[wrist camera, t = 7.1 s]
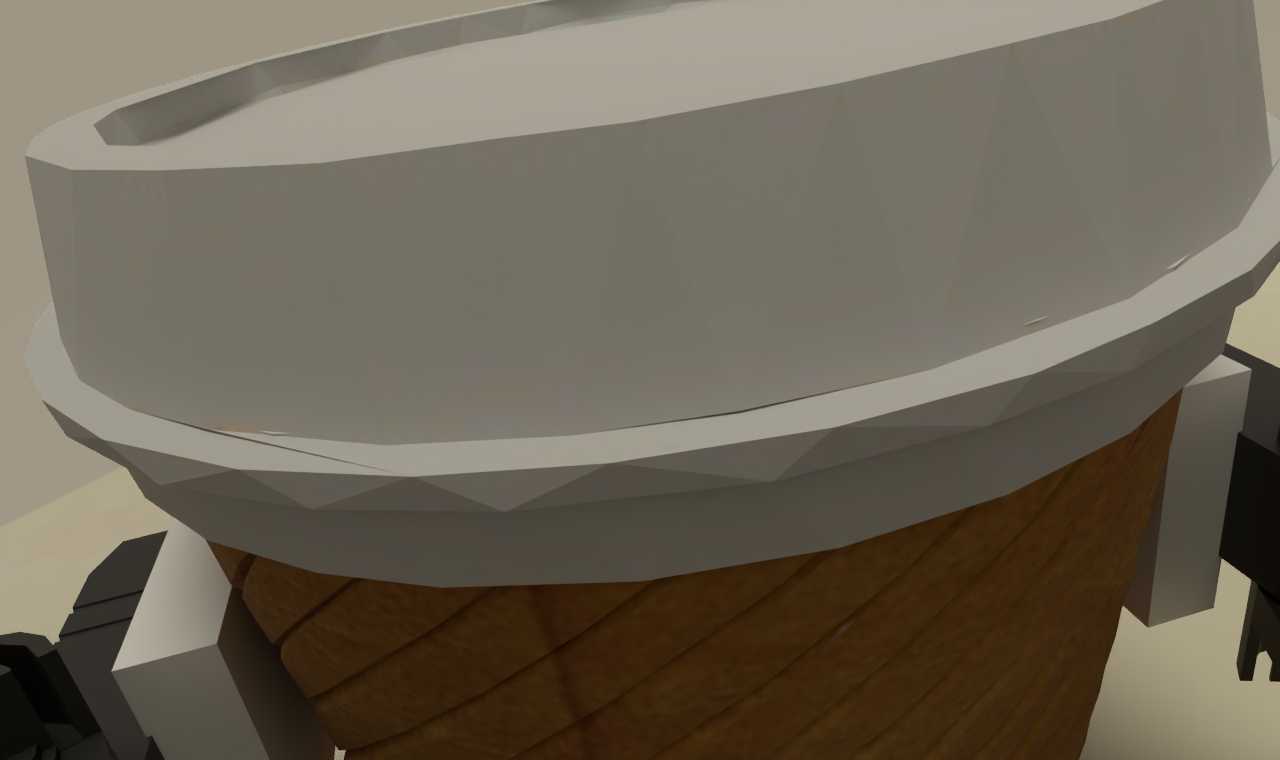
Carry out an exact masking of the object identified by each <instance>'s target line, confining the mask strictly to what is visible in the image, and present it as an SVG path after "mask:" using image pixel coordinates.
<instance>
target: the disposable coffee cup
mask: <svg viewBox="0 0 1280 760" xmlns="http://www.w3.org/2000/svg"><path fill="white" fill-rule="evenodd" d="M25 158H26V163H27V168H28V173H29V178H30V183H31V189H32V194H33V199H34V204H35V209H36V214H37V220H38V225H39V230H40V235H41V240H42V245H43V250H44V256H45V261H46V266H47V271H48V276H49V281H50V287H51V292H52V297H53V301H52V303H51V304H50V305H49V306H48V308H47V309H46V310H45V311H44V313H43V314H42V315H41V317H40V318H39V319H38V321H37V322H36V325H35V327H34V330H33V333H32V336H31V339H30V342H29V345H28V348H27V351H26V354H25V357H24V362H25V364H26V366H27V369H28V371H29V373H30V375H31V377H32V380H33V382H34V384H35V386H36V388H37V391H38V393H39V395H40V397H41V399H42V401H43V402H44V404H45V405H46V407H47V408H48V410H49V411H50V412H51V414H52V415H53V417H54V418H55V420H56V421H57V423H58V424H59V425H60V427H61V428H62V430H63V431H64V433H65V434H66V435H67V436H68V437H70V438H71V439H73V440H75V441H77V442H79V443H81V444H83V445H85V446H86V447H88V448H90V449H92V450H94V451H96V452H98V453H100V454H101V455H103V456H105V457H107V458H109V459H111V460H113V461H115V462H116V463H118V464H120V465H122V466H124V467H126V468H127V469H128V471H129V472H130V474H131V475H132V477H133V479H134V480H135V482H136V483H137V485H138V487H139V488H140V490H141V491H142V493H143V495H144V496H145V498H146V499H148V500H149V501H151V502H152V503H154V504H155V505H157V506H158V507H160V508H161V509H162V510H164V511H165V512H167V513H168V514H170V515H171V516H173V517H174V518H176V519H177V520H178V521H180V522H181V523H183V524H184V525H186V526H187V527H189V528H190V529H192V530H193V531H194V532H196V533H197V534H199V535H200V536H202V537H203V538H205V540H206V542H207V543H208V545H209V547H210V549H211V550H212V552H213V554H214V556H215V558H216V559H217V561H218V563H219V565H220V566H221V568H222V570H223V572H224V573H225V575H226V577H227V579H228V581H229V582H230V584H231V585H233V586H234V587H236V588H238V589H240V590H242V591H243V594H242V597H243V599H244V601H245V603H246V605H247V607H248V609H249V610H250V612H251V613H252V615H253V616H254V618H255V619H256V621H257V622H258V624H259V625H260V627H261V628H262V630H263V631H264V633H265V634H266V636H267V638H268V639H269V641H270V642H271V644H272V645H275V646H278V647H281V660H282V663H283V664H284V666H285V667H286V669H287V670H288V672H289V673H290V675H291V676H292V678H293V679H294V681H295V682H296V684H297V685H298V687H299V688H300V690H301V691H302V693H303V694H304V696H305V698H306V699H312V698H316V704H315V711H314V713H315V715H316V716H317V718H318V719H319V721H320V722H321V724H322V725H323V727H324V728H325V730H326V731H327V733H328V734H329V736H330V737H331V739H332V740H333V742H334V744H335V745H336V747H337V748H338V750H346V752H345V756H344V760H1079V758H1080V755H1081V752H1082V749H1083V746H1084V744H1085V740H1086V736H1087V731H1088V727H1089V722H1090V718H1091V715H1092V712H1093V709H1094V706H1095V703H1096V701H1097V698H1098V695H1099V692H1100V688H1101V683H1102V679H1103V674H1104V670H1105V666H1106V663H1107V660H1108V657H1109V654H1110V651H1111V648H1112V645H1113V643H1114V640H1115V637H1116V632H1117V628H1118V623H1119V618H1120V614H1121V609H1122V606H1123V603H1124V600H1125V597H1126V595H1127V592H1128V589H1129V586H1130V583H1131V580H1132V578H1133V573H1134V569H1135V564H1136V559H1137V555H1138V550H1139V546H1140V543H1141V540H1142V537H1143V535H1144V532H1145V529H1146V526H1147V523H1148V520H1149V517H1150V515H1151V512H1152V507H1153V502H1154V498H1155V493H1156V488H1157V484H1158V479H1159V476H1160V473H1161V471H1162V468H1163V465H1164V462H1165V459H1166V456H1167V453H1168V451H1169V448H1170V445H1171V442H1172V438H1173V434H1174V429H1175V424H1176V420H1177V415H1178V410H1179V406H1180V401H1181V396H1182V392H1183V388H1184V386H1185V385H1186V384H1187V383H1188V382H1190V381H1191V380H1192V379H1193V378H1194V377H1195V376H1196V375H1198V374H1199V373H1200V372H1201V371H1202V370H1203V369H1205V368H1206V367H1207V366H1208V365H1209V364H1210V363H1211V362H1213V361H1214V360H1215V359H1216V358H1217V357H1218V356H1219V355H1221V354H1222V353H1223V351H1224V348H1225V344H1226V340H1227V337H1228V333H1229V330H1230V326H1231V322H1232V319H1233V315H1234V312H1235V308H1236V307H1237V306H1239V305H1240V304H1242V303H1243V302H1245V301H1247V300H1248V299H1250V298H1252V297H1253V296H1254V295H1255V294H1256V293H1257V291H1258V290H1259V288H1260V287H1261V286H1262V284H1263V283H1264V282H1265V280H1266V279H1267V278H1268V276H1269V275H1270V273H1271V272H1272V271H1273V269H1274V268H1275V267H1276V265H1277V264H1278V263H1279V261H1280V121H1279V120H1278V119H1276V118H1275V117H1274V116H1272V115H1271V114H1270V113H1268V112H1267V111H1266V108H1265V99H1264V90H1263V82H1262V73H1261V65H1260V56H1259V47H1258V38H1257V31H1256V21H1255V12H1254V4H1253V0H538V1H532V2H526V3H521V4H515V5H510V6H504V7H499V8H494V9H488V10H482V11H477V12H471V13H466V14H461V15H455V16H450V17H445V18H440V19H435V20H430V21H426V22H421V23H416V24H411V25H406V26H401V27H396V28H391V29H386V30H381V31H376V32H372V33H367V34H363V35H358V36H354V37H349V38H345V39H341V40H336V41H332V42H327V43H323V44H319V45H314V46H310V47H306V48H302V49H298V50H294V51H290V52H286V53H282V54H278V55H274V56H270V57H266V58H262V59H258V60H254V61H250V62H246V63H242V64H238V65H234V66H230V67H226V68H221V69H218V70H214V71H210V72H206V73H202V74H199V75H195V76H192V77H188V78H185V79H182V80H178V81H175V82H171V83H168V84H165V85H161V86H158V87H155V88H151V89H148V90H144V91H141V92H138V93H135V94H132V95H129V96H126V97H123V98H120V99H117V100H114V101H111V102H109V103H105V104H102V105H99V106H97V107H94V108H91V109H88V110H86V111H83V112H81V113H79V114H76V115H74V116H72V117H69V118H67V119H64V120H62V121H60V122H58V123H55V124H53V125H52V126H50V127H49V128H48V129H46V130H45V131H43V132H42V133H40V134H39V135H37V136H36V137H35V138H33V140H32V142H31V144H30V146H29V148H28V150H27V152H26V154H25Z"/></svg>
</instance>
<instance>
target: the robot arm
mask: <svg viewBox="0 0 1280 760" xmlns="http://www.w3.org/2000/svg"><path fill="white" fill-rule="evenodd" d="M1221 558H1222V559H1224V560H1225V561H1227V562H1228V563H1229V564H1231V565H1232V566H1233V567H1235V568H1236V569H1237V570H1239V571H1240V572H1242V573H1243V574H1244V575H1246V576H1247V577H1248V578H1250V579H1251V586H1250V591H1249V597H1248V602H1247V608H1246V614H1245V619H1244V625H1243V630H1242V636H1241V641H1240V647H1239V652H1238V658H1237V663H1236V664H1237V669H1238V674H1239V679H1240V681H1252V679H1253V674H1254V669H1255V664H1256V659H1257V655H1258V654H1259V653H1260V652H1264V651H1267V653H1268V655H1269V657H1270V658H1271V660H1272V667H1271V672H1270V676H1269V679H1270V681H1276V682H1280V368H1278V367H1276V366H1274V365H1272V364H1270V363H1267V362H1265V361H1263V360H1261V359H1259V358H1257V357H1255V356H1252V355H1250V354H1248V353H1246V352H1244V351H1242V350H1240V349H1237V348H1235V347H1233V346H1231V345H1229V344H1227V343H1226V344H1225V348H1224V351H1223V353H1222V354H1221V355H1219V356H1218V357H1217V358H1216V359H1215V360H1214V361H1213V362H1211V363H1210V364H1209V365H1208V366H1207V367H1206V368H1205V369H1203V370H1202V371H1201V372H1200V373H1199V374H1198V375H1196V376H1195V377H1194V378H1193V379H1192V380H1191V381H1190V382H1188V383H1187V384H1186V385H1185V386H1184V388H1183V392H1182V396H1181V401H1180V406H1179V410H1178V415H1177V420H1176V424H1175V429H1174V434H1173V438H1172V442H1171V445H1170V448H1169V451H1168V453H1167V456H1166V459H1165V462H1164V465H1163V468H1162V471H1161V473H1160V476H1159V479H1158V484H1157V488H1156V493H1155V498H1154V502H1153V507H1152V512H1151V515H1150V517H1149V520H1148V523H1147V526H1146V529H1145V532H1144V535H1143V537H1142V540H1141V543H1140V546H1139V550H1138V555H1137V559H1136V564H1135V569H1134V573H1133V578H1132V580H1131V583H1130V586H1129V589H1128V592H1127V595H1126V597H1125V600H1124V603H1123V606H1124V607H1125V608H1127V609H1128V610H1129V611H1130V612H1131V613H1132V614H1133V615H1134V616H1135V617H1137V618H1138V619H1139V620H1140V621H1141V622H1142V623H1143V624H1144V625H1145V626H1147V627H1152V626H1155V625H1158V624H1162V623H1165V622H1168V621H1171V620H1175V619H1178V618H1181V617H1185V616H1188V615H1191V614H1194V613H1198V612H1201V611H1204V610H1208V609H1211V608H1214V602H1215V596H1216V590H1217V583H1218V577H1219V571H1220V565H1221ZM242 594H243V591H242V590H240V589H238V588H236V587H234V586H233V585H231V584H230V582H229V581H228V579H227V577H226V575H225V573H224V572H223V570H222V568H221V566H220V565H219V563H218V561H217V559H216V558H215V556H214V554H213V552H212V550H211V549H210V547H209V545H208V543H207V542H206V540H205V538H203V537H202V536H200V535H199V534H197V533H196V532H194V531H193V530H192V529H190V528H189V527H187V526H186V525H184V524H183V523H181V522H180V521H178V520H177V519H176V518H174V517H173V520H172V522H171V525H170V527H169V530H168V531H164V532H160V533H156V534H152V535H147V536H143V537H139V538H135V539H131V540H127V541H123V542H122V543H121V544H120V545H119V546H118V547H117V548H116V549H115V550H114V551H113V552H112V553H111V554H110V555H109V556H108V557H107V558H106V559H105V560H104V561H103V562H102V563H101V564H100V565H99V566H97V567H96V568H95V569H94V570H93V571H92V572H91V573H90V574H89V576H88V578H87V580H86V582H85V584H84V586H83V588H82V590H81V592H80V594H79V596H78V598H77V600H76V602H75V604H74V606H73V611H74V613H72V614H69V616H68V618H67V620H66V622H65V624H64V626H63V628H62V630H61V632H60V634H59V638H60V641H59V642H55V644H54V646H53V645H52V644H51V642H50V641H49V640H48V639H47V638H46V637H45V636H42V635H36V634H30V633H23V632H17V633H11V634H5V635H0V760H334V754H335V744H334V742H333V740H332V739H331V737H330V736H329V734H328V733H327V731H326V730H325V728H324V727H323V725H322V724H321V722H320V721H319V719H318V718H317V716H316V715H315V713H314V711H315V704H316V698H312V699H306V698H305V696H304V694H303V693H302V691H301V690H300V688H299V687H298V685H297V684H296V682H295V681H294V679H293V678H292V676H291V675H290V673H289V672H288V670H287V669H286V667H285V666H284V664H283V663H282V660H281V647H278V646H275V645H272V644H271V642H270V641H269V639H268V638H267V636H266V634H265V633H264V631H263V630H262V628H261V627H260V625H259V624H258V622H257V621H256V619H255V618H254V616H253V615H252V613H251V612H250V610H249V609H248V607H247V605H246V603H245V601H244V599H243V597H242Z"/></svg>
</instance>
